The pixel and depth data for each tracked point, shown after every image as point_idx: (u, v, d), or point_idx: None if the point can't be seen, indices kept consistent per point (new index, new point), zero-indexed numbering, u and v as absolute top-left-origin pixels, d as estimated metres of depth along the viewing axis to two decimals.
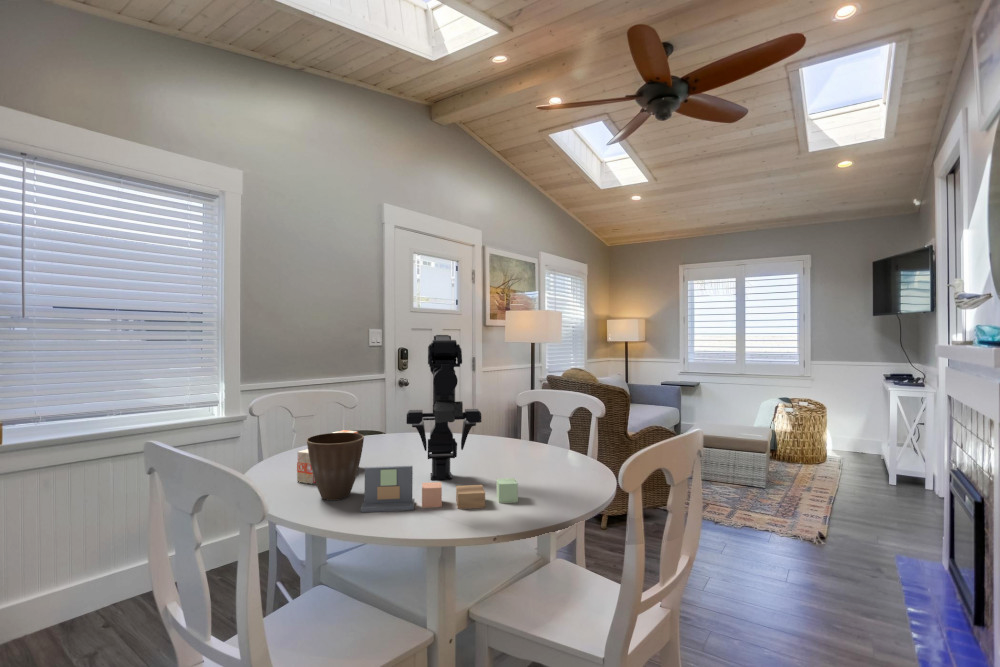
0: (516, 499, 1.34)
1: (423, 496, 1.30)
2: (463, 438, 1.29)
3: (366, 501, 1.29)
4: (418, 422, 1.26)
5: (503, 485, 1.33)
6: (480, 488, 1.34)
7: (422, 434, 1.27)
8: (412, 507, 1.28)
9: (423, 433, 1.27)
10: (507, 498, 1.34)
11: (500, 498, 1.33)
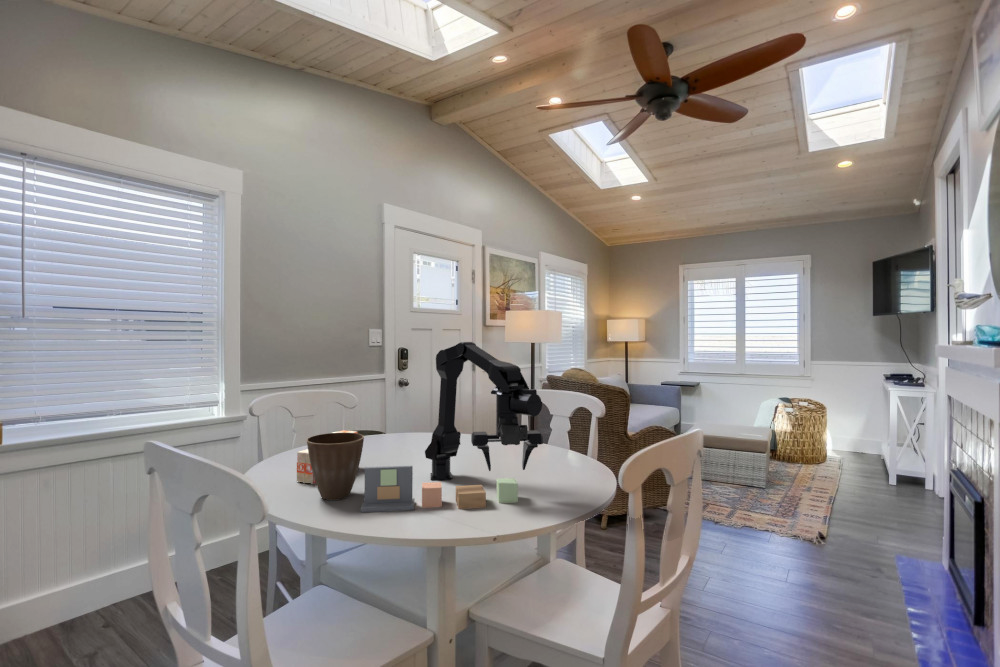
0: (516, 499, 1.34)
1: (423, 496, 1.30)
2: (525, 459, 1.36)
3: (366, 501, 1.29)
4: (484, 444, 1.32)
5: (503, 485, 1.33)
6: (479, 487, 1.34)
7: (487, 455, 1.34)
8: (412, 507, 1.28)
9: (488, 454, 1.34)
10: (507, 498, 1.34)
11: (500, 498, 1.33)
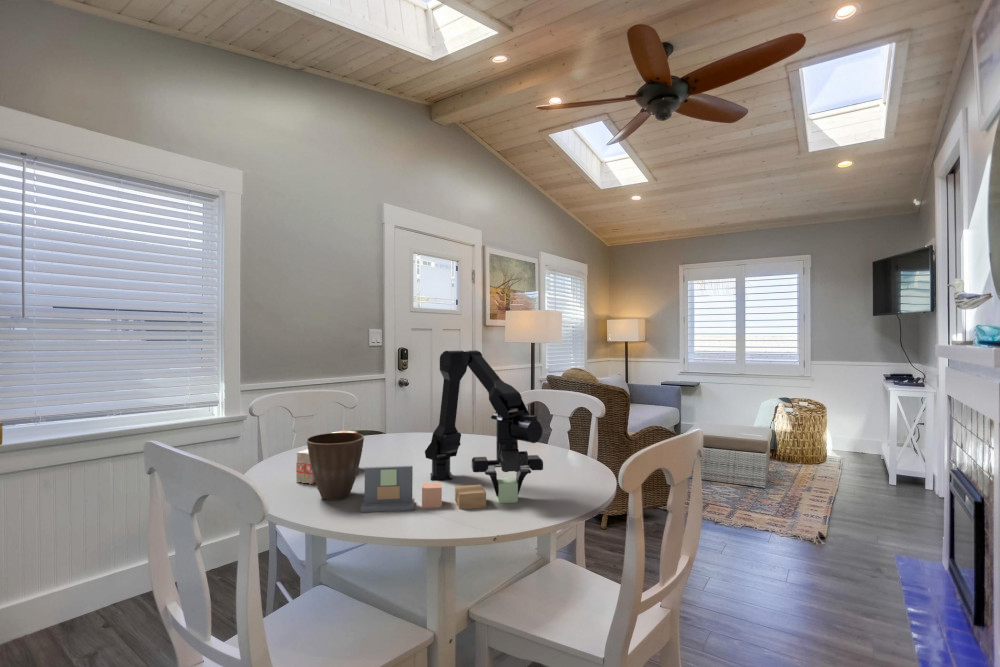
0: (516, 499, 1.34)
1: (423, 496, 1.30)
2: (518, 484, 1.35)
3: (366, 501, 1.29)
4: (484, 470, 1.32)
5: (503, 485, 1.33)
6: (479, 487, 1.34)
7: (494, 480, 1.34)
8: (412, 507, 1.28)
9: (495, 480, 1.34)
10: (507, 497, 1.34)
11: (500, 498, 1.33)
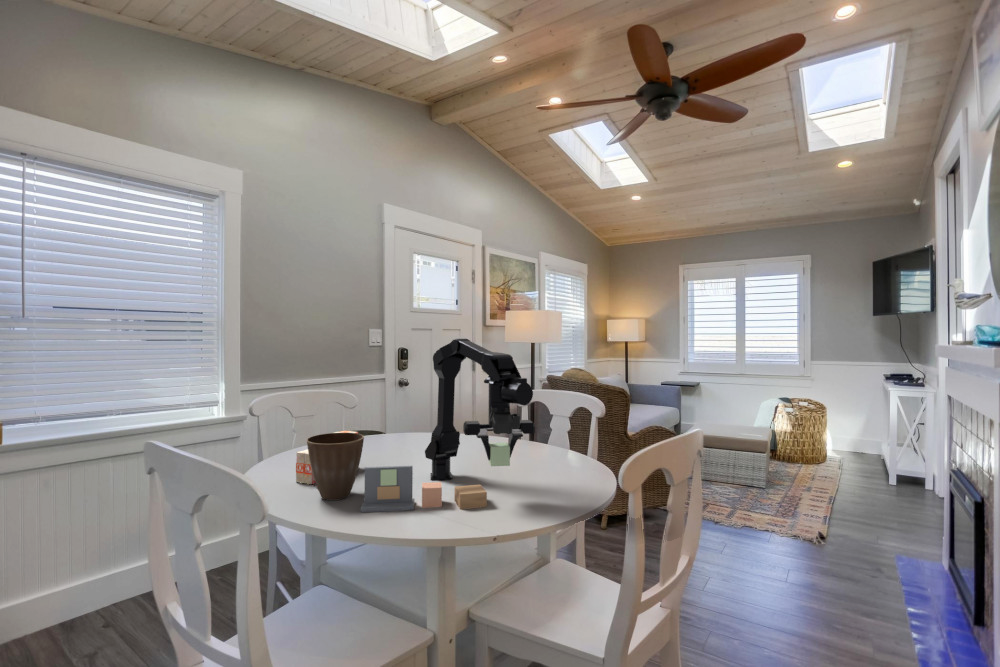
0: (508, 462, 1.33)
1: (423, 496, 1.30)
2: (510, 448, 1.35)
3: (366, 501, 1.29)
4: (476, 433, 1.31)
5: (495, 448, 1.33)
6: (479, 487, 1.34)
7: (486, 444, 1.34)
8: (412, 507, 1.28)
9: (487, 443, 1.34)
10: (499, 461, 1.33)
11: (492, 461, 1.33)
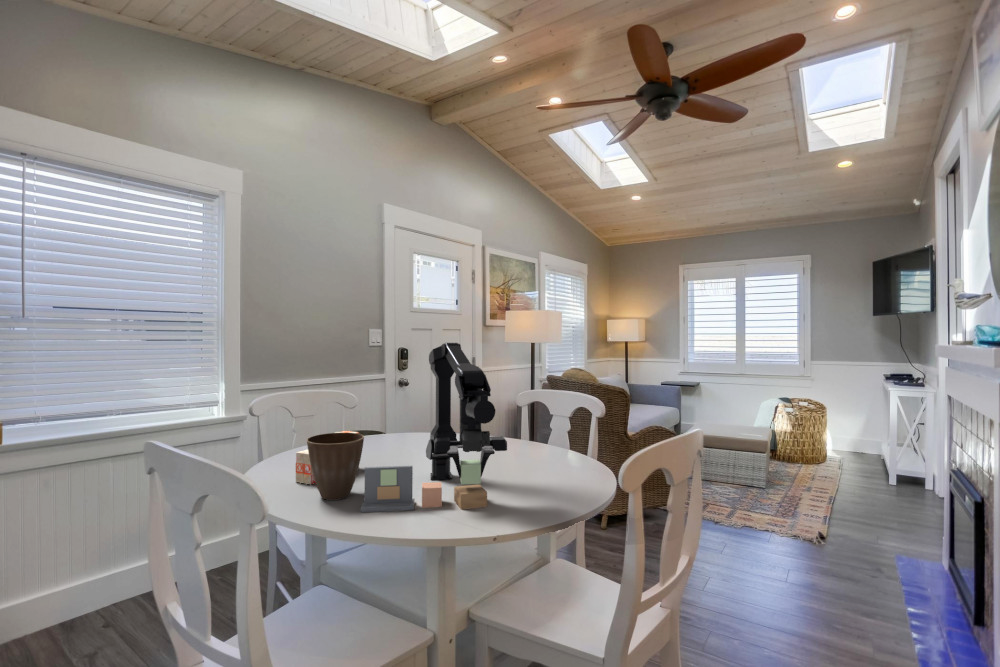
0: (479, 480, 1.31)
1: (423, 496, 1.30)
2: (482, 466, 1.32)
3: (366, 501, 1.29)
4: (446, 451, 1.29)
5: (465, 466, 1.30)
6: (479, 487, 1.34)
7: (457, 461, 1.31)
8: (412, 507, 1.28)
9: (458, 461, 1.31)
10: (470, 479, 1.30)
11: (462, 479, 1.30)
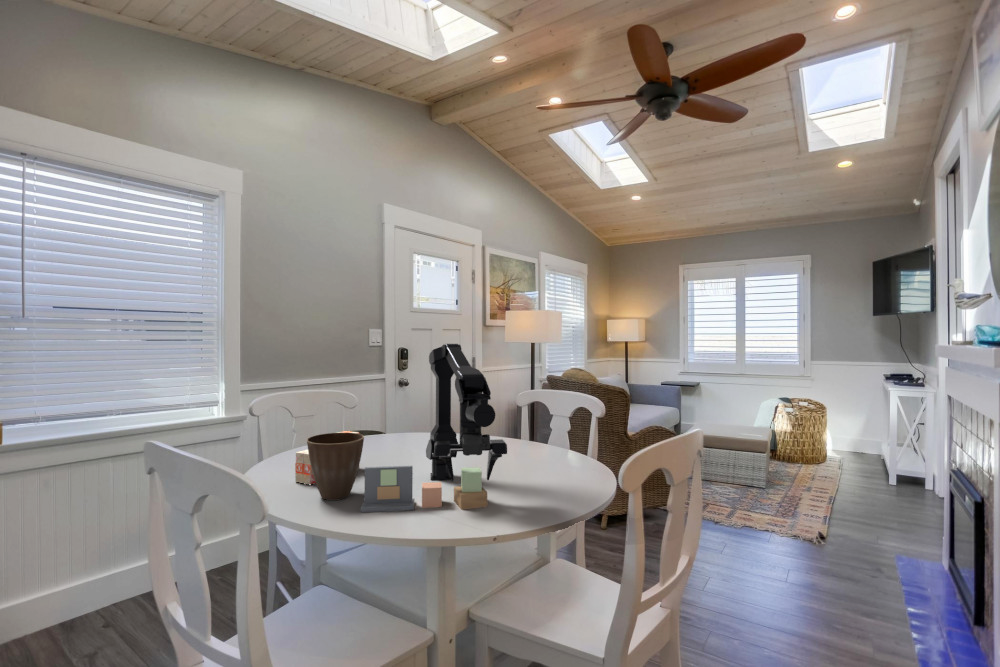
0: (480, 488, 1.31)
1: (423, 496, 1.30)
2: (489, 469, 1.32)
3: (366, 501, 1.29)
4: (446, 454, 1.29)
5: (466, 474, 1.30)
6: None
7: (449, 465, 1.31)
8: (412, 507, 1.28)
9: (450, 464, 1.31)
10: (471, 487, 1.30)
11: (463, 487, 1.30)
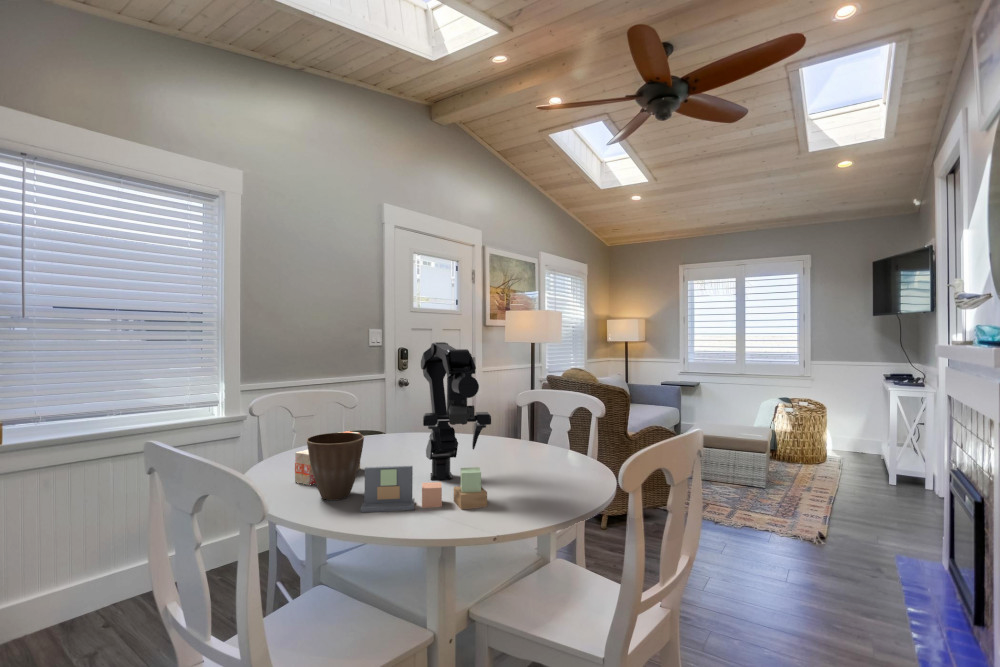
0: (479, 488, 1.31)
1: (423, 496, 1.30)
2: (474, 439, 1.42)
3: (366, 501, 1.29)
4: (434, 424, 1.38)
5: (465, 474, 1.30)
6: None
7: (437, 435, 1.40)
8: (412, 507, 1.28)
9: (438, 434, 1.40)
10: (470, 487, 1.30)
11: (463, 487, 1.30)
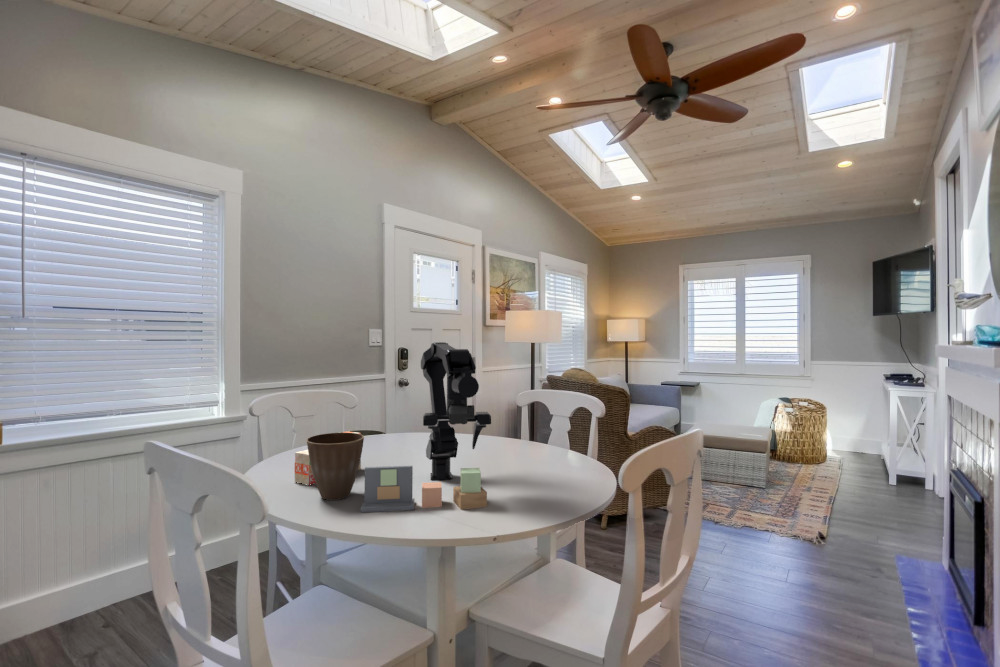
0: (479, 489, 1.30)
1: (423, 496, 1.30)
2: (474, 438, 1.42)
3: (366, 501, 1.29)
4: (434, 424, 1.38)
5: (465, 475, 1.30)
6: None
7: (437, 434, 1.40)
8: (412, 507, 1.28)
9: (438, 434, 1.40)
10: (470, 487, 1.30)
11: (462, 487, 1.30)
